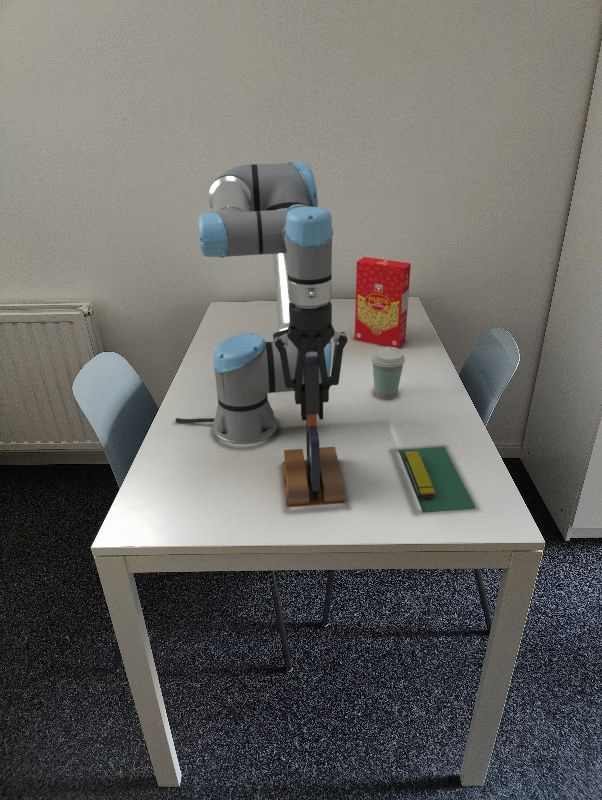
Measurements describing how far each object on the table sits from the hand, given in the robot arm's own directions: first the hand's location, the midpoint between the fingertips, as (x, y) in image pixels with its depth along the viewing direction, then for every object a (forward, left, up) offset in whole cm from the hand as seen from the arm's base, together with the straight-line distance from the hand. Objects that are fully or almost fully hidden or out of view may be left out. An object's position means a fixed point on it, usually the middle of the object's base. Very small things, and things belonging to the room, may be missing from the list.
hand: (311, 416), depth 114 cm
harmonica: (+22, 0, -15) cm, 27 cm away
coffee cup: (+23, +36, -17) cm, 46 cm away
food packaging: (+28, +69, -17) cm, 76 cm away
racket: (0, 0, -15) cm, 15 cm away
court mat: (+25, 0, -17) cm, 30 cm away
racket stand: (0, 0, -17) cm, 17 cm away
